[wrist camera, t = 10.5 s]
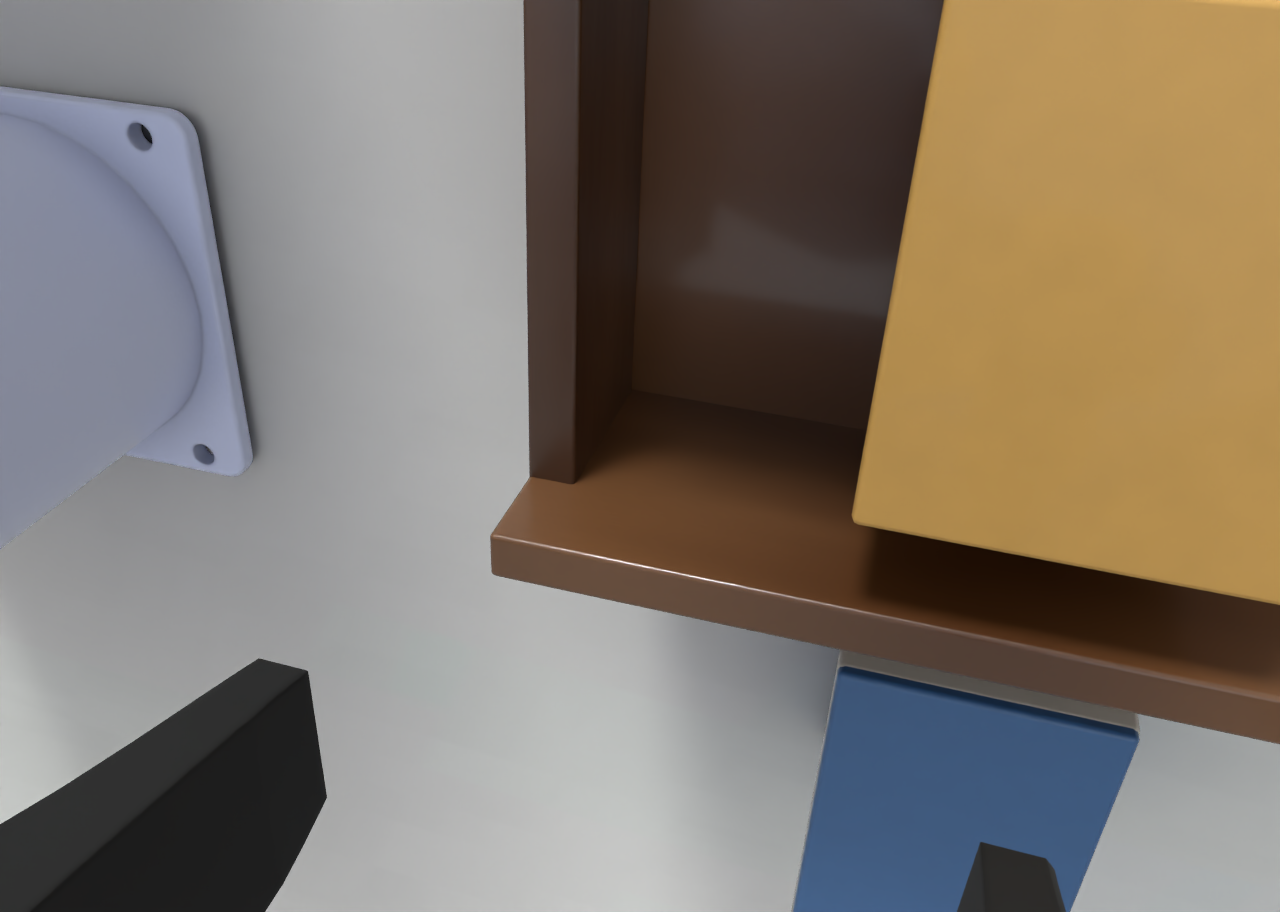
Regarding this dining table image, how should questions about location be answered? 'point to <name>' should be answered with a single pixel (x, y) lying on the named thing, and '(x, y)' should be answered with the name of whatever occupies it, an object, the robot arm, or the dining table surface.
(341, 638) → the dining table surface
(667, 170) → the shelf
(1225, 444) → the ochre carton
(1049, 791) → the blue book
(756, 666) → the dining table surface
